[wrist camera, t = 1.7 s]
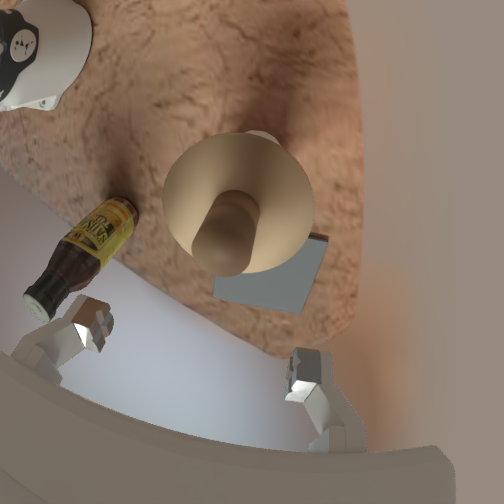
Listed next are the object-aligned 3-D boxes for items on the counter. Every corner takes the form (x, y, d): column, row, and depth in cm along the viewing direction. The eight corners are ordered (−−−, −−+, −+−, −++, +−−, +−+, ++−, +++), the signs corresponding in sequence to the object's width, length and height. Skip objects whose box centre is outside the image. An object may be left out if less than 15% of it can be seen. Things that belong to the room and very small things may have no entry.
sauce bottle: (141, 200, 36) (54, 302, 20) (139, 236, 40) (68, 341, 24) (102, 189, 36) (9, 278, 20) (103, 225, 39) (25, 317, 23)
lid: (167, 251, 24) (139, 299, 19) (170, 123, 17) (127, 145, 13) (293, 276, 24) (292, 332, 19) (331, 151, 17) (348, 184, 13)
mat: (213, 295, 45) (213, 297, 44) (221, 218, 36) (220, 221, 36) (300, 311, 45) (300, 314, 44) (327, 239, 36) (327, 242, 36)
